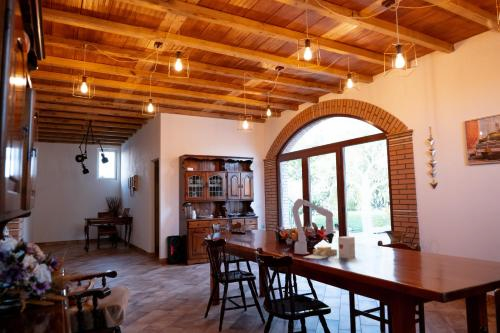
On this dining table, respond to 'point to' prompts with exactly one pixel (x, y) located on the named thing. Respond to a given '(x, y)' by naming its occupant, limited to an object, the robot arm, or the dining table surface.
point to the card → (324, 248)
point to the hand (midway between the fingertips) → (330, 243)
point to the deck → (325, 252)
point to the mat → (315, 256)
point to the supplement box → (346, 247)
